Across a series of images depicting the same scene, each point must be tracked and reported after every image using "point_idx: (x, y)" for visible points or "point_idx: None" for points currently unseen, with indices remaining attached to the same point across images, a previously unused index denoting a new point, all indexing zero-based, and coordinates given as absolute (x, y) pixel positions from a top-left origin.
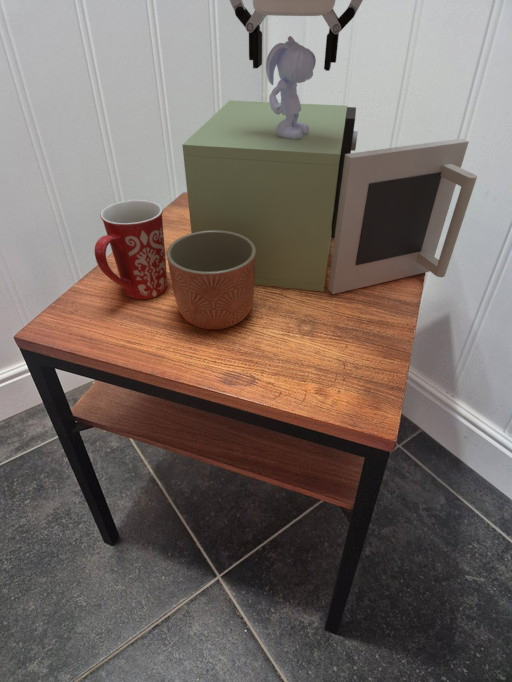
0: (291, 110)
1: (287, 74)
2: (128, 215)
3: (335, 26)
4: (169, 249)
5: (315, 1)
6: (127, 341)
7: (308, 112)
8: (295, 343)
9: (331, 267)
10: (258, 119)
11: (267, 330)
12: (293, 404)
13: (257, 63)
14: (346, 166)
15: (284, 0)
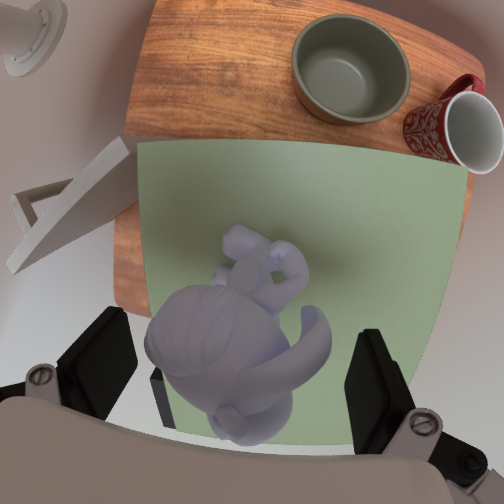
0: (244, 265)
1: (247, 299)
2: (479, 162)
3: (41, 383)
4: (407, 65)
5: (36, 444)
6: (406, 43)
7: None
8: (239, 49)
9: None
10: (332, 360)
11: (271, 63)
12: None
13: (364, 337)
14: (134, 143)
15: None
